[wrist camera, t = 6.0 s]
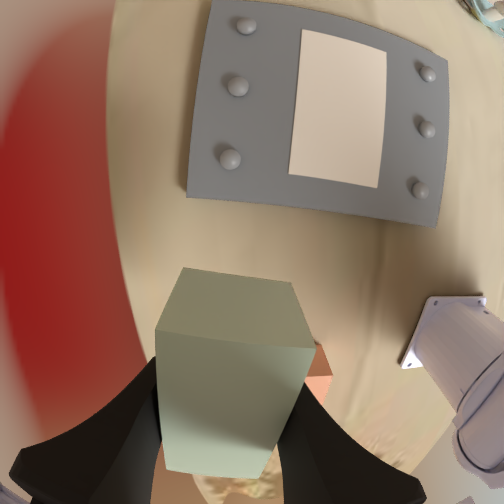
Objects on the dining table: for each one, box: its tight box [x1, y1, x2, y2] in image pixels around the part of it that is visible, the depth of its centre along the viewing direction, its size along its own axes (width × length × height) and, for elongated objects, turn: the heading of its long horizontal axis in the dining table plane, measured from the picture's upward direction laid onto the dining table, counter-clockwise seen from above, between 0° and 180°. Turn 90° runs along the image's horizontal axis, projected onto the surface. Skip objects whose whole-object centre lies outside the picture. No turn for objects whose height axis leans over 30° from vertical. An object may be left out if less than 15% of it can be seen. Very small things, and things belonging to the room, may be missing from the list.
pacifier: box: [464, 0, 504, 38], centre depth 8 cm, size 7×6×6 cm
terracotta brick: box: [304, 345, 333, 405], centre depth 21 cm, size 4×8×4 cm, turn 175°
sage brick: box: [155, 267, 317, 479], centre depth 10 cm, size 4×8×4 cm, turn 170°
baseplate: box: [186, 0, 449, 229], centre depth 15 cm, size 18×14×2 cm
